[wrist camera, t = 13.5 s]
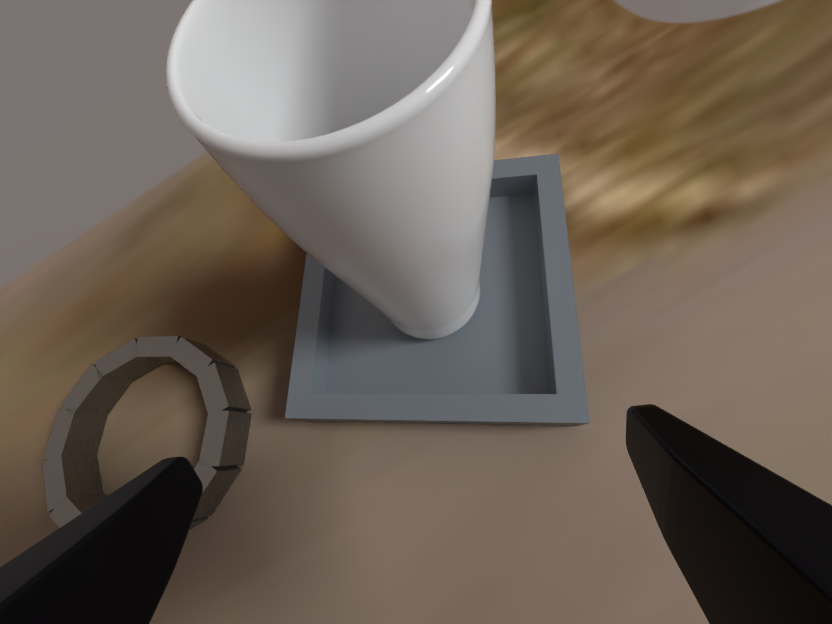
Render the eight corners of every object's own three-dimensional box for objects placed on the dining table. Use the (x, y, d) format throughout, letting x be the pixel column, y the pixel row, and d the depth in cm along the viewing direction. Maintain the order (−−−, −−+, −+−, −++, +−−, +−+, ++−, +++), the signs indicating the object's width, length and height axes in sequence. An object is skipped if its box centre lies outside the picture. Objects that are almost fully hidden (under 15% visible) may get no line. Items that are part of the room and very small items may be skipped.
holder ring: (229, 551, 20) (201, 562, 18) (56, 536, 22) (15, 544, 20) (262, 342, 23) (242, 334, 21) (111, 346, 25) (80, 338, 23)
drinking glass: (456, 221, 22) (397, -144, 8) (518, 316, 20) (579, 19, 6) (354, 276, 23) (131, 5, 9) (404, 378, 20) (200, 228, 6)
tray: (577, 425, 18) (589, 423, 16) (307, 420, 21) (284, 418, 19) (551, 182, 23) (558, 153, 21) (332, 203, 26) (316, 179, 23)
